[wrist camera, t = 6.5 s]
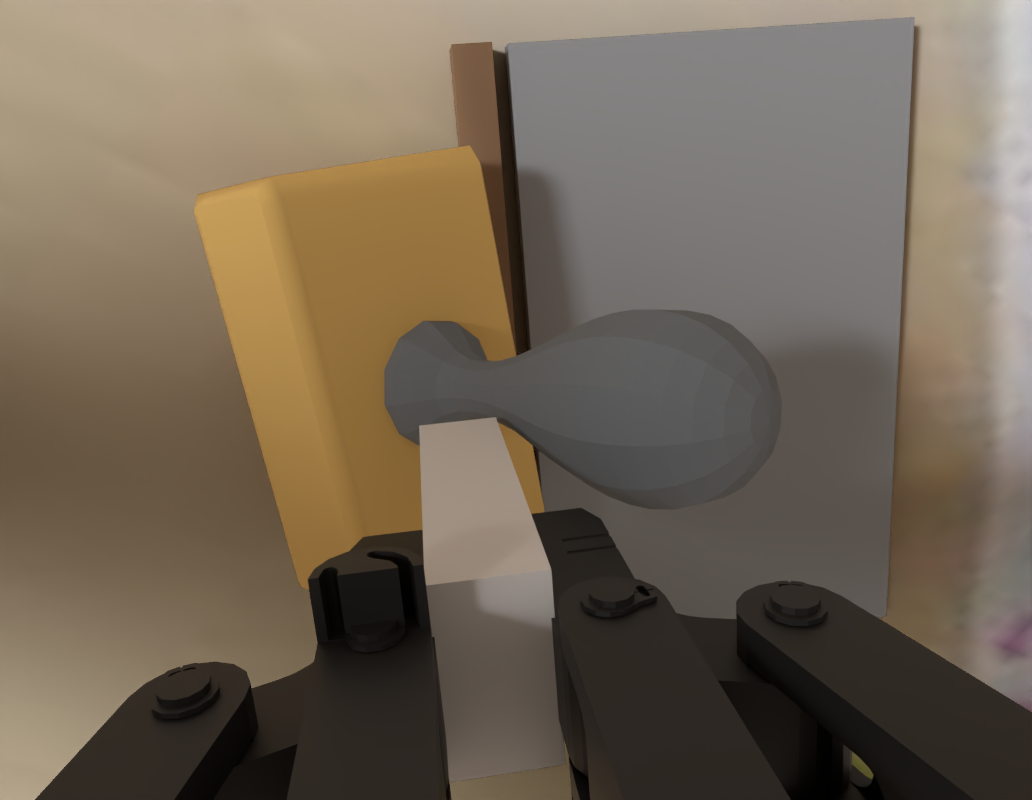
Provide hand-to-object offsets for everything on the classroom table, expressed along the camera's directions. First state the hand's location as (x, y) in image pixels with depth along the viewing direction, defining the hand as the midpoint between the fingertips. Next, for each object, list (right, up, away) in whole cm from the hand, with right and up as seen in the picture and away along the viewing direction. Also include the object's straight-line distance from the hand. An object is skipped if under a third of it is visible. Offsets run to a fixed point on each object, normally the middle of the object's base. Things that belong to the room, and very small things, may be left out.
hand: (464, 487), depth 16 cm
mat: (+7, +3, +8) cm, 11 cm away
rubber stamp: (-4, +2, +5) cm, 7 cm away
